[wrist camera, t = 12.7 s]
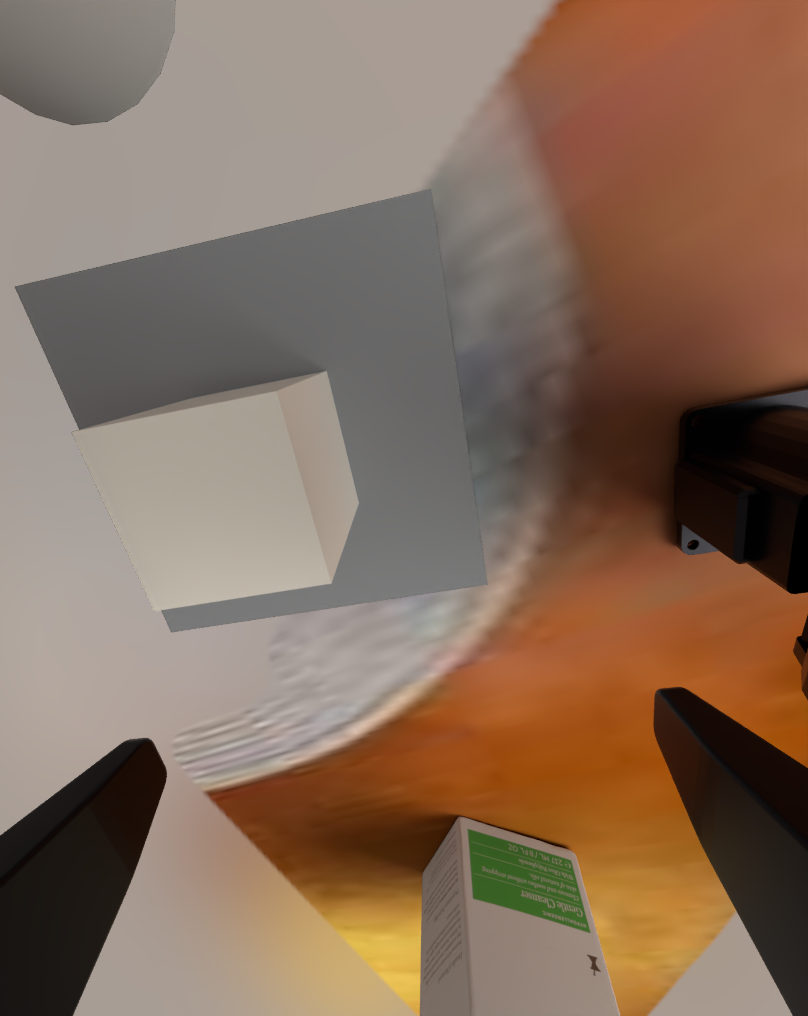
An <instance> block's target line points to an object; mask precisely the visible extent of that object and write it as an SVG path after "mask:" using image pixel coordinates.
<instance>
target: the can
mask: <svg viewBox="0 0 808 1016" xmlns="http://www.w3.org/2000/svg"><path fill="white" fill-rule="evenodd" d="M175 1H176V0H0V94H1V95H3V96H5V97H6V98H8V99H10V100H11V101H13V102H15V103H16V104H18V105H20V106H22V107H23V108H25V109H27V110H29V111H30V112H32V113H34V114H36V115H39V116H43V117H46V118H49V119H53V120H56V121H60V122H63V123H67V124H70V125H80V124H89V123H99V122H108V121H109V120H111V119H113V118H115V117H116V116H118V115H120V114H121V113H123V112H125V111H127V110H128V109H130V108H131V107H133V106H135V105H137V104H138V103H139V101H140V100H141V99H142V98H143V96H144V95H145V93H146V92H147V91H148V89H149V88H150V87H151V86H152V84H153V83H154V81H155V80H156V79H157V78H158V76H159V75H160V74H161V71H162V67H163V64H164V61H165V58H166V55H167V52H168V49H169V46H170V43H171V40H172V37H173V33H174V23H175Z"/></svg>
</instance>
